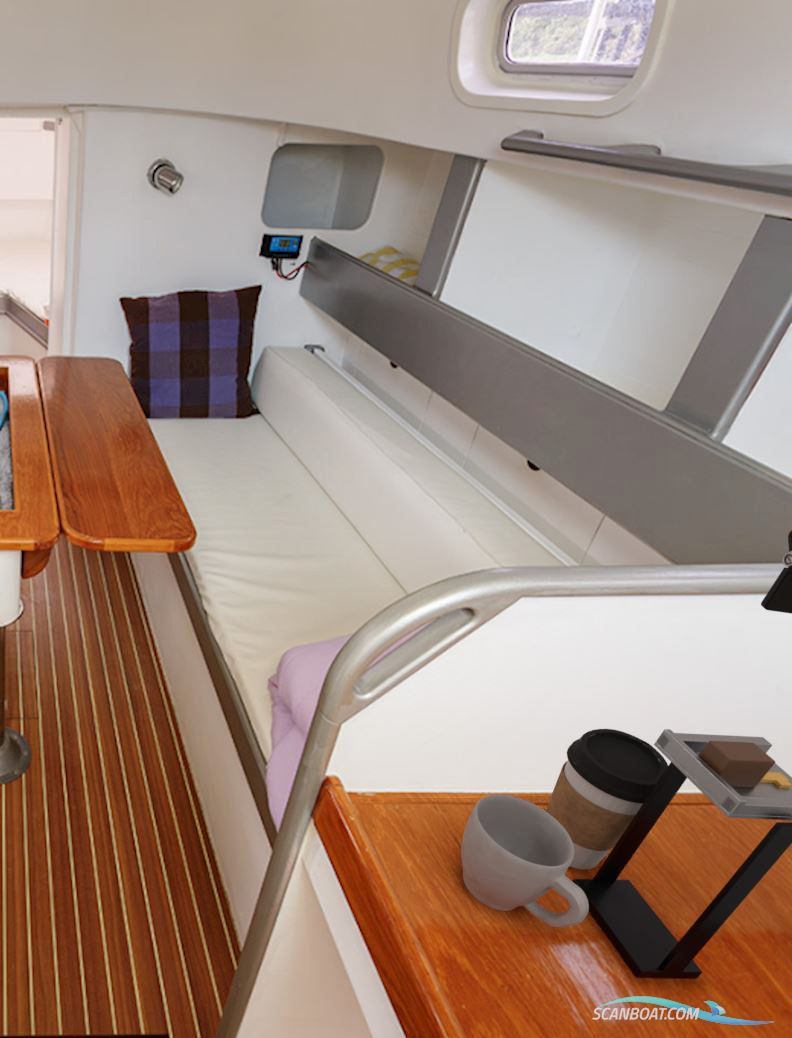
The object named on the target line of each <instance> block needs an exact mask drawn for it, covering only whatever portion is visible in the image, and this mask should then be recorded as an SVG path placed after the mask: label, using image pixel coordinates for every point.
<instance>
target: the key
mask: <svg viewBox="0 0 792 1038" xmlns="http://www.w3.org/2000/svg"><path fill="white" fill-rule="evenodd" d="M698 756H699V757H700V758H701V759H702V760H703V761H705V762H706V763H707V764H708V765H709V766H710V767H711V768H712V769H713V770H714V771H715V772H716V773H717V774H718V775H719V776H720V777H722V778H723V779H724V780H725V781H726V782H727V783H728V784H729V785H730V786H731V787H752V788H755V787H756V786H757V785H758V783H759V782H764V783H774V784H775V785H777V786H778V787H779V788H791V787H792V785H791V784H790V783H789V780H788V779H787V778H786V777H785V776H784V775H782V774H781V773H776V772H768V771H769V770H770V769H771V767H772V766H773V765H774V764H775V763H776V760H775V759H773V758H772V757H771V756H770V755H769V754H767V753H765V752H764V751H763V750H761V749H760V748H759V747H758V746H757V745H755V744H754V743H750V742H729V741H709V742H708V743H707V745H706V746H705V747H704V749H703V750H702V751H701V753H700V754H699V755H698ZM776 764H777V763H776Z"/></svg>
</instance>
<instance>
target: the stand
mask: <svg viewBox="0 0 792 1038" xmlns="http://www.w3.org/2000/svg"><path fill="white" fill-rule="evenodd" d="M687 779H688V778H687V777H686V776H685V775H684V774H683V773H682V772H681V771H680V770H679V769H678V768H677V767H676V766H675V765H674V764H673V763H672V762H671V761H670V763H669V764H668V767H667V769H666V770H665V772H664V773H663V775H662V776H661V778H660V779H659V781H658V782H657V784H656V785H655V787H654V788H653V790H652V791H651V793H650V794H649V796H648V797H647V799H646V800H645V802H644V803H643V805H642V806H641V808H640V809H639V810H638V812H637V813H636V815H635V816H634V818H633V819H632V821H631V822H630V824H629V825H628V827H627V828H626V830H625V831H624V833H623V834H622V836H621V837H620V839H619V840H618V842H617V843H616V845H615V846H614V847H613V848H611V850H610V851H609V854H608V855H607V857H606V858H605V859H604V861H603V863H602V864H601V866H600V867H599V868H598V870H597V872H596V873H595V874H594V876H593V878H573V880H571V881H572V882H573V883H575V884H576V885H577V886H578V887H580V888H581V889H582V890H583V892H584V893H585V895H586V897H587V899H588V904H589V911H588V913H589V914H590V916H591V917H592V918H593V920H594V921H595V923H596V924H597V925H598V927H599V928H600V930H601V931H602V932H603V934H604V935H605V936H606V938H607V939H608V941H609V942H610V943H611V945H612V947H614V949H615V951H616V952H617V954H618V955H619V956H620V957H621V959H622V960H623V961H624V963H625V965H627V967H628V969H629V970H630V971H631V973H632V974H633V975H634V977H635V978H636V979H675V980H676V979H681V980H682V979H683V980H684V979H687V980H697V979H698V978H699V977H700V976H701V975H702V973H703V971H702V970H701V968H700V967H699V966H698V964H697V963H696V962H695V960H694V959H695V958H696V957H697V955H698V954H699V953H700V952H701V951H702V949H703V948H704V947H705V946H706V945H707V943H708V942H709V941H710V940H711V939H712V938H713V936H715V934H716V933H717V932H718V930H720V928H721V927H722V926H723V925H724V924H725V922H726V921H727V920H728V919H729V918H730V917H731V916H732V914H733V913H734V912H735V911H736V910H737V908H738V907H739V906H740V905H741V904H742V903H743V901H744V900H745V899H746V898H747V896H748V895H749V894H750V893H751V892H752V891H753V890H754V888H756V886H757V885H758V884H759V883H760V881H761V880H762V879H763V878H764V877H765V876H766V875H767V873H768V872H769V871H770V870H771V869H772V867H773V866H774V865H775V864H776V863H777V862H778V860H779V859H780V858H781V857H782V856H783V854H784V853H785V852H786V851H787V850H788V849H789V847H790V846H791V845H792V822H784V821H777V822H775V823H774V825H773V826H772V827H771V828H770V830H769V831H768V832H767V833H766V834H765V836H764V837H763V838H762V839H761V840H760V842H759V843H758V844H757V846H756V847H755V848H754V849H753V850H752V852H751V853H750V854H749V855H748V857H746V859H745V860H744V861H743V863H741V865H740V866H739V867H738V869H737V870H736V871H735V872H734V874H733V875H732V876H731V877H730V879H729V880H728V881H727V882H726V883H725V885H724V886H723V887H722V888H721V889H720V891H718V893H717V894H716V895H715V897H714V898H713V899H712V900H711V901H710V903H709V904H708V906H706V908H705V909H704V910H703V912H702V913H701V914H700V915H699V916H698V917H697V919H695V921H694V923H693V924H692V925H691V926H690V927H689V928H688V929H687V931H686V932H685V933H684V935H683V936H682V937H681V938H680V939H679V941H678V939H677V938H676V937H675V935H674V934H673V933H672V932H671V930H669V928H668V927H667V925H666V924H665V923H664V922H663V921H662V920H661V918H660V916H658V914H657V913H656V912H655V911H654V909H653V908H652V907H651V905H650V904H649V903H648V902H647V900H646V899H645V898H644V897H643V895H641V893H640V892H639V891H638V890H637V888H636V886H635V885H633V883H632V882H631V881H630V879H618V878H619V876H620V875H621V874H622V872H623V871H624V869H625V868H626V866H627V865H628V863H629V862H630V861H631V859H632V858H633V856H634V855H635V853H636V852H637V851H638V850H639V848H640V846H641V845H642V843H643V842H644V840H645V839H646V838H647V836H648V835H649V833H650V832H651V830H652V829H653V828H654V826H655V825H656V823H657V822H658V820H659V819H660V818H661V816H662V815H663V813H664V812H665V811H666V809H667V808H668V806H669V805H670V803H671V801H672V800H673V799H674V797H675V796H676V795H677V793H678V791H679V790H680V789H681V787H682V786H683V785H684V783H685V781H686V780H687Z"/></svg>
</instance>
